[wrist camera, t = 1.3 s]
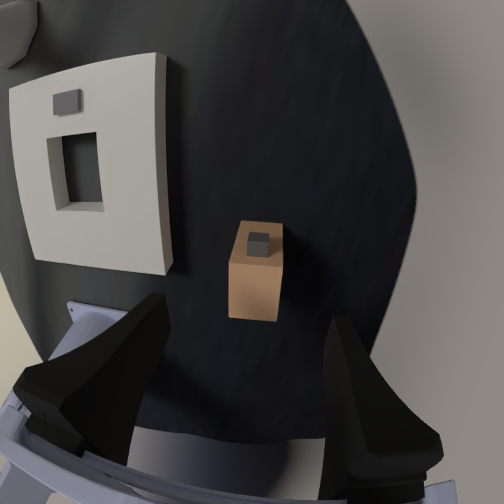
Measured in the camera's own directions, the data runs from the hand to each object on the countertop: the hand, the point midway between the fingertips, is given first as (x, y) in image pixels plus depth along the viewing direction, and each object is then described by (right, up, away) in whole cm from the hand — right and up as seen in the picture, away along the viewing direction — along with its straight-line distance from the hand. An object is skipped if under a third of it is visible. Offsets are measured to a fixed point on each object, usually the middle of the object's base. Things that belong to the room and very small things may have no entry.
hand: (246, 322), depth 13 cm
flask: (-21, +23, +2) cm, 31 cm away
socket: (-13, +10, +8) cm, 18 cm away
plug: (+1, +3, +10) cm, 11 cm away
